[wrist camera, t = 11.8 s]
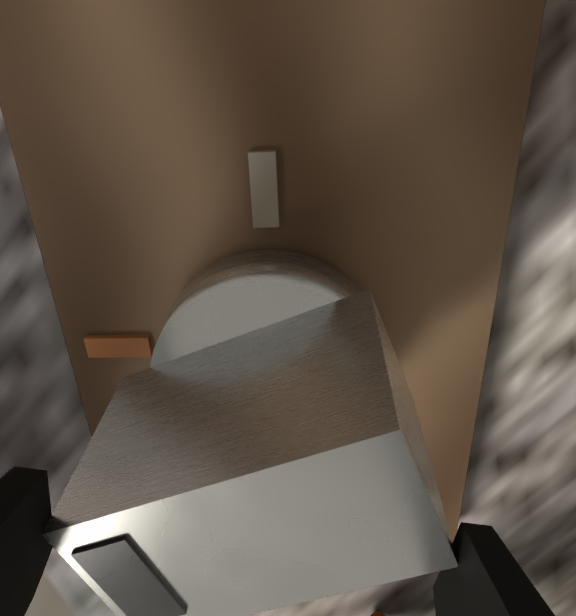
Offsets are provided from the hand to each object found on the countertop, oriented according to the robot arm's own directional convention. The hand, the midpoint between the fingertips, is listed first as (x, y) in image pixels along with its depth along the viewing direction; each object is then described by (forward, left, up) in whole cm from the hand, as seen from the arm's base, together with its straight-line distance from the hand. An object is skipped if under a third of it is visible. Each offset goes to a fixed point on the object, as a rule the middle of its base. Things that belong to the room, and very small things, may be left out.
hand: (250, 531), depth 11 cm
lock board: (0, 0, -8) cm, 8 cm away
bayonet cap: (0, 0, -7) cm, 7 cm away
